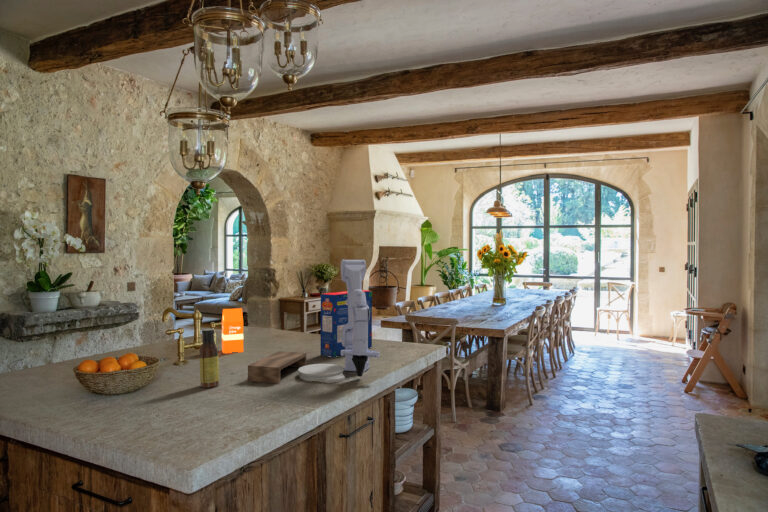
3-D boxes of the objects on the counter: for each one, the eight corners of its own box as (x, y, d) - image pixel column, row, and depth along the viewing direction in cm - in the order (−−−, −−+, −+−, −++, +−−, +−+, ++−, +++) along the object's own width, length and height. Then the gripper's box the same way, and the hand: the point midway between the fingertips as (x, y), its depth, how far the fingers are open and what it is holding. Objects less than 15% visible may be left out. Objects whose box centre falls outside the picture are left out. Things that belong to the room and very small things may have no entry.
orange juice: (221, 350, 235) (221, 308, 235) (240, 348, 239) (240, 307, 239) (223, 353, 228) (223, 310, 228) (243, 352, 232) (243, 309, 232)
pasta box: (358, 345, 248) (359, 289, 248) (371, 347, 243) (372, 290, 243) (320, 355, 225) (320, 293, 225) (333, 358, 221) (334, 294, 220)
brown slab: (306, 366, 204) (306, 352, 204) (278, 383, 178) (278, 367, 178) (278, 365, 207) (279, 351, 206) (247, 381, 181) (247, 365, 181)
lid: (318, 387, 175) (318, 378, 175) (289, 376, 190) (289, 368, 190) (357, 378, 187) (357, 370, 186) (326, 369, 202) (326, 361, 202)
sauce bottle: (222, 384, 177) (222, 328, 176) (211, 389, 171) (211, 331, 170) (207, 382, 179) (207, 327, 178) (195, 387, 173) (195, 330, 173)
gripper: (338, 340, 183) (337, 377, 183) (376, 342, 179) (376, 379, 179) (344, 337, 189) (343, 372, 190) (381, 338, 186) (380, 375, 186)
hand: (360, 375), depth 185 cm, fingers closed
